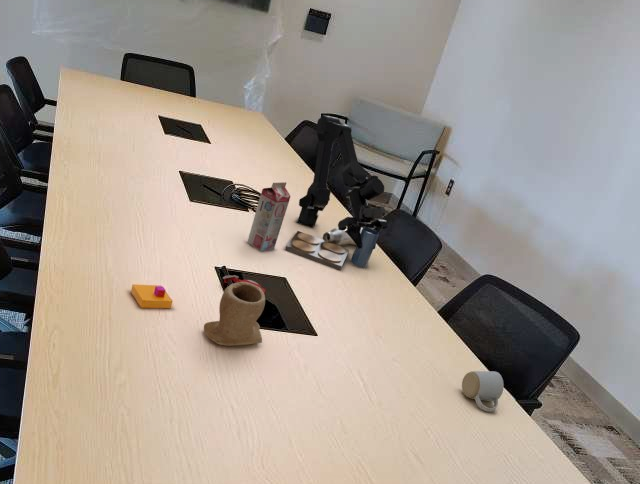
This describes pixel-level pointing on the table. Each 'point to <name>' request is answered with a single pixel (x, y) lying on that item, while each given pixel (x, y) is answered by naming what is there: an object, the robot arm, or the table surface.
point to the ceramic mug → (483, 387)
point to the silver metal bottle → (338, 237)
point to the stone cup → (238, 316)
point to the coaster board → (317, 250)
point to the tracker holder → (240, 281)
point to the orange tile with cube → (151, 296)
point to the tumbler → (364, 247)
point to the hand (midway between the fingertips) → (367, 248)
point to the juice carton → (269, 217)
